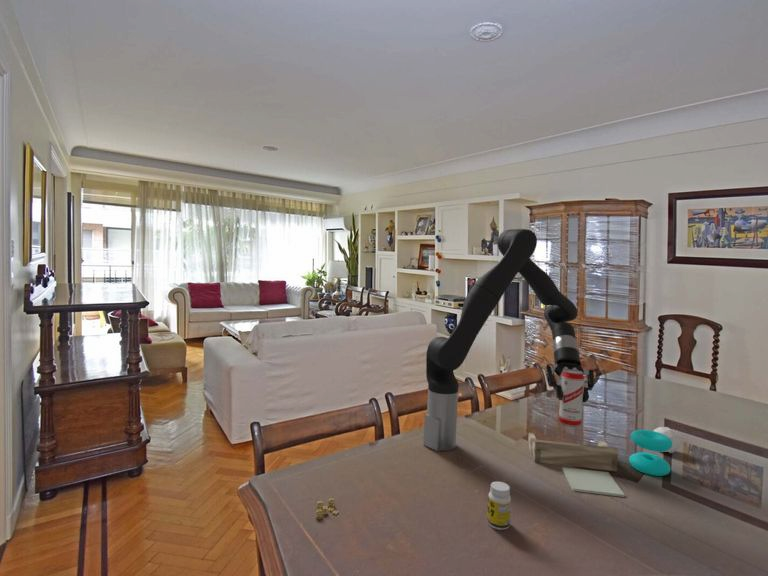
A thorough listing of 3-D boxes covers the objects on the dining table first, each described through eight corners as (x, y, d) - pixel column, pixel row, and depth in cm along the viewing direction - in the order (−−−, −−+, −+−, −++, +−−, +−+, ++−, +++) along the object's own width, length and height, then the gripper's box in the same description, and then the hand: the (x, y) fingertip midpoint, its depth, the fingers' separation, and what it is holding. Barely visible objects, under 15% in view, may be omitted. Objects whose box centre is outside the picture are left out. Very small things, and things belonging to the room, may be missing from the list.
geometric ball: (669, 459, 136) (688, 441, 134) (664, 457, 130) (684, 439, 129) (647, 440, 141) (665, 423, 140) (642, 437, 135) (661, 419, 134)
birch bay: (617, 471, 120) (618, 450, 120) (534, 462, 124) (535, 441, 124) (602, 452, 132) (603, 433, 132) (527, 444, 136) (528, 426, 136)
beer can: (583, 429, 125) (587, 374, 124) (560, 426, 127) (564, 372, 126) (578, 421, 131) (582, 369, 131) (556, 419, 133) (560, 368, 132)
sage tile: (624, 497, 106) (624, 494, 106) (572, 490, 108) (573, 488, 108) (608, 474, 118) (608, 472, 118) (561, 469, 120) (562, 467, 120)
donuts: (635, 438, 119) (627, 426, 128) (633, 473, 119) (625, 458, 129) (677, 444, 115) (666, 431, 125) (675, 480, 116) (664, 465, 125)
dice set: (316, 522, 92) (316, 513, 92) (312, 509, 96) (312, 501, 96) (339, 518, 93) (339, 510, 93) (334, 506, 98) (334, 498, 98)
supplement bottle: (483, 517, 95) (485, 480, 94) (504, 517, 95) (506, 480, 95) (491, 530, 90) (493, 491, 90) (513, 530, 91) (515, 491, 90)
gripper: (544, 344, 136) (550, 391, 125) (593, 347, 134) (602, 396, 123) (540, 357, 142) (545, 403, 131) (587, 361, 139) (595, 408, 128)
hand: (573, 399), depth 127 cm, fingers closed on beer can, 6 cm apart
